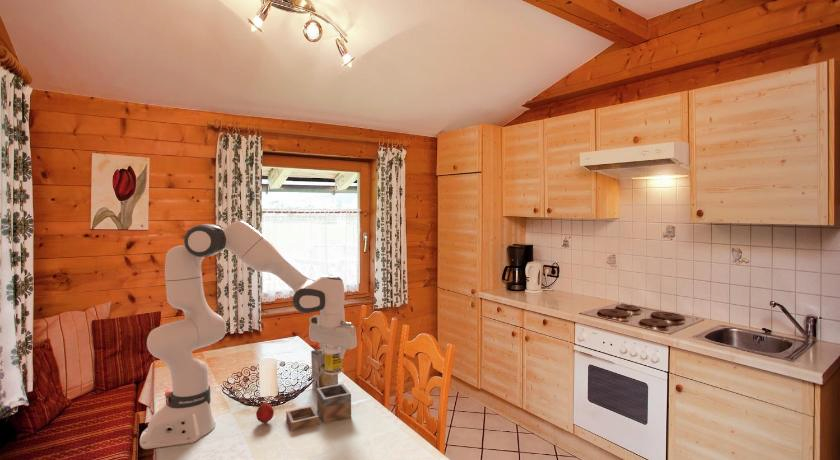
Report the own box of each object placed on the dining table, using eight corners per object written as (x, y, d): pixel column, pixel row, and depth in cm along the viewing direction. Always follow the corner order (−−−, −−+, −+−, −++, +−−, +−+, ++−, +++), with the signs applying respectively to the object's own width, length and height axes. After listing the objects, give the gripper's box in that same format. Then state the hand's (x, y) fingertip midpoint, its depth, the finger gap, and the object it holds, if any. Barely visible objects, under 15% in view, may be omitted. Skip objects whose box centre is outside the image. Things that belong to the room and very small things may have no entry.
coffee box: (330, 381, 193) (330, 345, 191) (338, 386, 188) (338, 349, 187) (311, 387, 187) (310, 350, 185) (318, 392, 182) (318, 354, 181)
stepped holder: (291, 431, 152) (291, 406, 151) (286, 418, 160) (285, 394, 160) (351, 417, 161) (350, 393, 161) (342, 406, 170) (342, 383, 170)
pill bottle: (334, 376, 158) (333, 346, 157) (321, 373, 161) (320, 343, 160) (345, 370, 163) (344, 341, 163) (332, 367, 166) (331, 339, 166)
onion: (257, 429, 153) (257, 406, 153) (255, 421, 158) (254, 400, 158) (275, 425, 156) (274, 403, 155) (272, 417, 161) (271, 396, 160)
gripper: (360, 321, 158) (360, 359, 159) (317, 313, 169) (318, 349, 170) (349, 325, 153) (349, 364, 154) (305, 317, 163) (306, 354, 164)
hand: (332, 356), depth 162 cm, fingers closed on pill bottle, 6 cm apart
